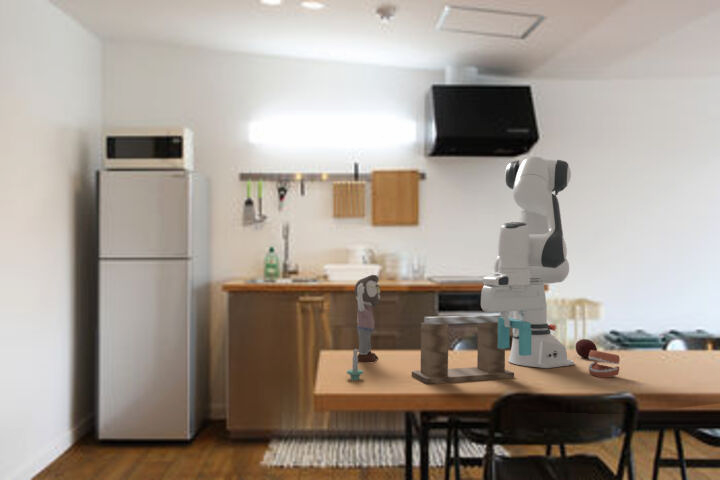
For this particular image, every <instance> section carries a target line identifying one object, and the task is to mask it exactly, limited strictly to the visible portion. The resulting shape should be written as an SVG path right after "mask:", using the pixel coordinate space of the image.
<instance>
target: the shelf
mask: <svg viewBox="0 0 720 480" xmlns="http://www.w3.org/2000/svg"><path fill="white" fill-rule="evenodd" d="M499 317H502V315H501V314H491V315H490V314H487V315H486V314H485V315H451V316H450V315H448V316H447V315H446V316H424V318H423V321H424V322H420V370H412V371H411V377H412V376H413V377H412V378H414V377H415V380H418V381H420V382H422V383H424V384H425V383H426V385H430V384H429V383H435V384H442V383H441V382H449V383H460V382H472V381H473V382H474V381H487V380H500V379H513V378H515V371H514V372H513V371H510V370H508V369H506V348H505V349H500V348H498V324H499ZM449 324H451V325H453V324H455V325H457V324H477V362H476V365H477V366H475V367H474V366H471V367H460V368H459V367H457V368H456V367H455V368H449Z"/></svg>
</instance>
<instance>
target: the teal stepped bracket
mask: <svg viewBox="0 0 720 480" xmlns="http://www.w3.org/2000/svg"><path fill="white" fill-rule="evenodd" d="M509 320H510V321H512V327H505V325H504V319H503V317H499V324H498V348H500V349H505V350H506V349H510V344H511V343H510V337H511V336H510V328H511V329H512V328H516V329H519V355H521V356H527V355H531V333H532V329H531V323H529V322H525V321H521V320H516V319H514V318H512V317H509Z"/></svg>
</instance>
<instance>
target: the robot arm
mask: <svg viewBox="0 0 720 480" xmlns="http://www.w3.org/2000/svg"><path fill="white" fill-rule="evenodd" d="M504 170H505V171H504V180H505V184H506V186H507V187H508V188H509V189H511V190H512V193H513V194H512V197H513V200H514V202H515V203H516V205H518V207H520V211H519V219H518V221H514V222H513V221H512V222H506V223H503V224H502V225H500V229H499V233H498V235H499V236H498V243H497V247H498V248H497V249H498V250H497V251H498V252H497V254H498V256H497V257H496V258H495V261H494V263H493V270H494V273H491V274H489V275H485V276H484V277H483V278H482V284H483V287H482V288H481V294H480V307H481V309H482V311H483V312H487V313H499V312H500V316H502V317H503V319H504V325H505V327H510V328H511V333H512V341H511V348H510V353H509V358H508V362H509V363H511V364H514V365H518V366H523V367H535V368H541V369H551V368H558V367H565V366H572V365H575V361H574V360H572V359H571V358H568V354H567V348H566V346H565V345H564V344H563V343H562V342H561V341H560V340H558V339H557V338H556V337H555V336H554V335H553V334H552V332H551V331H556V330H557V325H556V324H551V323H550V324H549V323H547V311H548V310H547V309H548V307H547V305H548V304H547V301H546V299H547V298H546V291H545V284H546V285H547V284H557V283H562V282H563V281H565V279H567V277H568V276H569V272H570V264H569V261H568V259H567V254H568V252H567V251H568V248H567V244H566V241H565V239H564V232H563V224H562V218H561V217H562V216H561V209H560V203H559V198H558V197H557V195H558V194H559V193H560V192H562V191H564V190H565V189H566V188H567V187H568V184H569V182H570V180H571V177H572V171H571V168H570V166H569V163H568V162H567V161H566V160H562V159H557V160H555V159H554V160H553V159H545V158H542V157H541V156H529V157H526V158H525V159H524V160H519V159H517V160H513V161H510V162H509V163H508V164H507V165H506V169H504ZM510 312H513V319H516V320H521V321H525V322H529V323H531V329H532V333H531V355H527V356H521V355H519V329H516V328H512V321H510V320H509V318H510V317H509V316H510Z"/></svg>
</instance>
